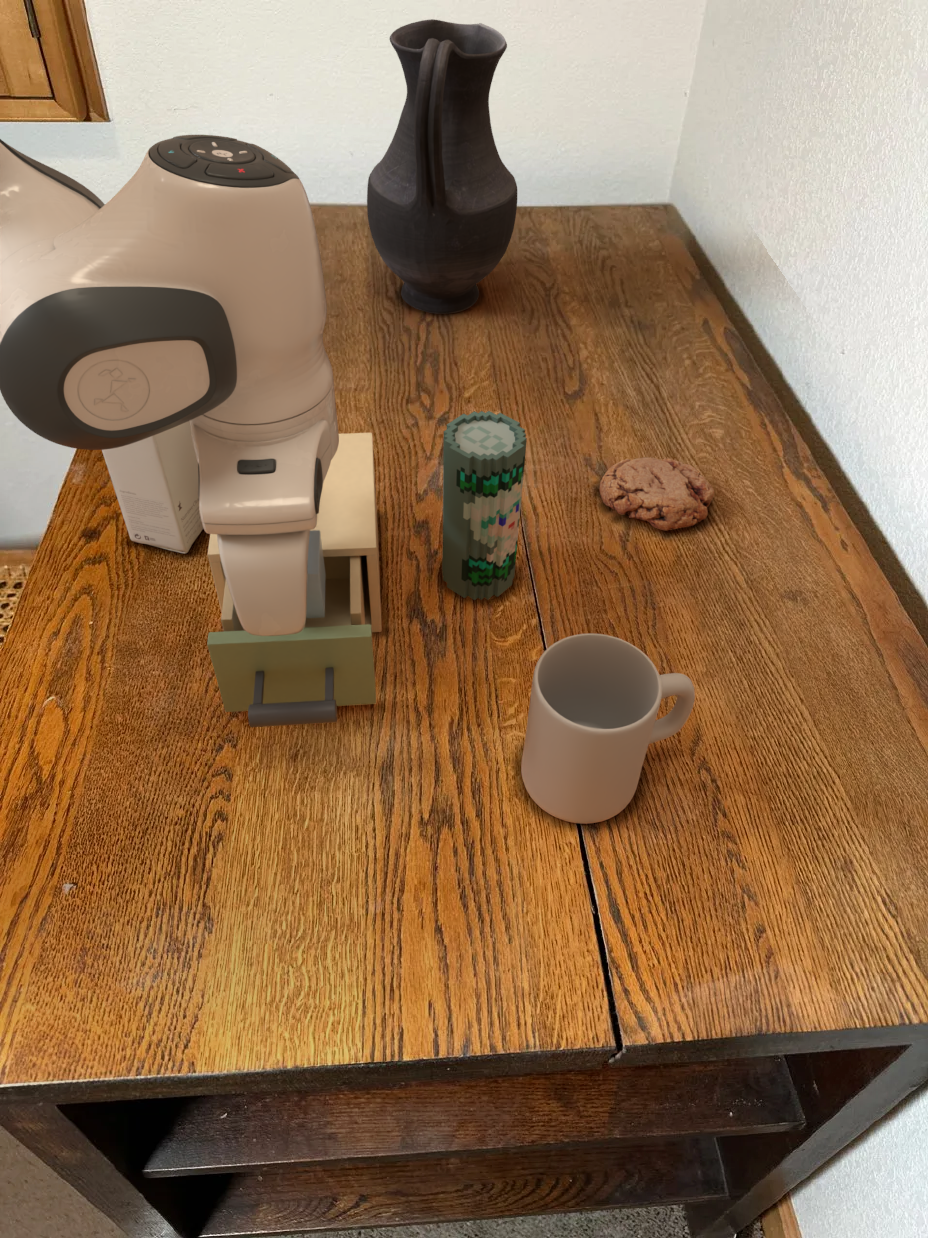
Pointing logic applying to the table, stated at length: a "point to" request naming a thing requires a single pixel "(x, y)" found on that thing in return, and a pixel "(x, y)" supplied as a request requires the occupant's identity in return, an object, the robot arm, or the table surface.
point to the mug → (595, 725)
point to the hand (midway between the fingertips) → (290, 581)
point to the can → (481, 502)
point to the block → (315, 577)
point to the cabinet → (341, 519)
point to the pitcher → (443, 169)
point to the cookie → (657, 492)
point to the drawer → (300, 658)
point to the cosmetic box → (158, 488)
